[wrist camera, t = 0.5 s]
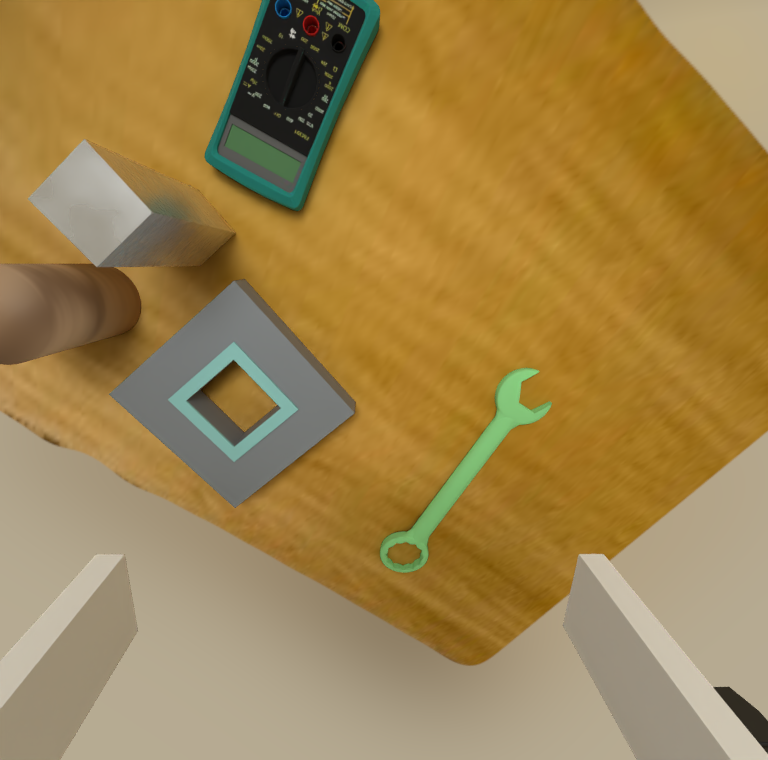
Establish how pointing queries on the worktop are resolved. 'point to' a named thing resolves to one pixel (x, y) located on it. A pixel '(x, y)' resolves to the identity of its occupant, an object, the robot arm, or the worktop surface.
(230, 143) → the digital multimeter
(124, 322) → the round dowel
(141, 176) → the square bit
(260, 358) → the socket plate
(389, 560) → the wrench
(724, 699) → the robot arm
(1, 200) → the worktop surface
